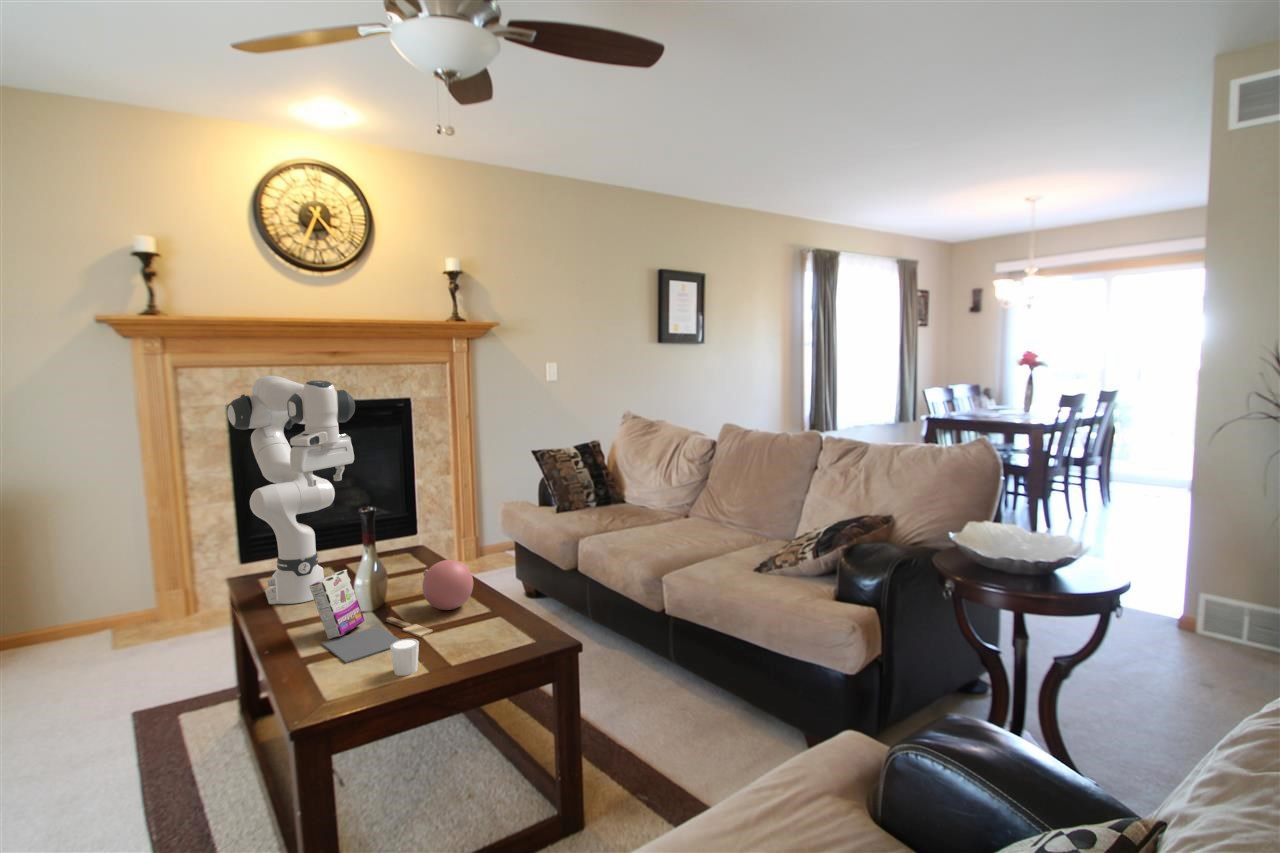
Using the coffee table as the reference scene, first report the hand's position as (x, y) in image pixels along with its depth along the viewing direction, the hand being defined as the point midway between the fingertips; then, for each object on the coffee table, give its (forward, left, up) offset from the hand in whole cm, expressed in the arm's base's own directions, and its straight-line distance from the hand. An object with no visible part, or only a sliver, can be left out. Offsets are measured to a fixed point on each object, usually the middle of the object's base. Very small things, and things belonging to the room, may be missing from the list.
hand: (325, 483), depth 194 cm
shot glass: (+46, +1, -43) cm, 62 cm away
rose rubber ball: (+13, +30, -43) cm, 53 cm away
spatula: (+21, +14, -42) cm, 49 cm away
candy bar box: (+11, 0, -42) cm, 43 cm away
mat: (+22, 0, -42) cm, 48 cm away
